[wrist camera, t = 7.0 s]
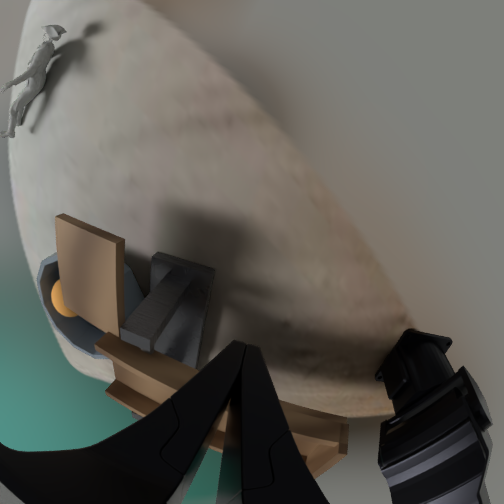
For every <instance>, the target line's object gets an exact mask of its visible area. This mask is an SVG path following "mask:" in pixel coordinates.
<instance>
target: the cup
mask: <svg viewBox="0 0 504 504" xmlns="http://www.w3.org/2000/svg"><path fill="white" fill-rule="evenodd" d="M59 279H60V275H59V267H58V257H57V252H56V253H54V254H52V255H51V256H49V257H47V258H46V259H44V260H43V261H42V262H41V265H40V269H39V272H38V276H37V285H38V290H39V295H40V299H41V303H42V306H43V307H44V309H45V311H46V313H47V315H48V317H49V318H50V320H51V322H52V324H53V325H54V327H55V328H56V329H57V330H58V331H59V333H60V334H61V335H62V336H63V337H64V338H65V339H66V340H67V341H68V342H69V343H70V344H71V345H72V346H73V347H75V348H76V349H78V350H80V351H82V352H84V353H85V354H87V355H89V356H91V357H93V358H95V359H109V358H107V357H105V356H104V355H102V354H101V353H99V352H98V351H96V350H95V345H94V344H95V343H96V342H97V341H98V340H99V339H100V338H101V337H103V336H104V335H105V334H106V333H105V332H104V331H102V330H101V329H99V328H97V327H96V326H94V325H93V324H91V323H90V322H88V321H87V320H85V319H83V318H82V317H80V316H79V315H77V316H75V317H67V316H64V315H62V314H60V313H59V312H58V311H57V310H56V309H55V307H54V305H53V302H52V298H51V293H52V289H53V286H54V284H55V283H56V282H57V281H58V280H59ZM143 300H144V296H143V294H142V292H141V290H140V288H139V285H138V283H137V281H136V279H135V277H134V274H133V272H132V270H131V268H130V267H129V266H128V265H127V264H126V263H125V262H124V306H125V321H126V320H127V319H128V318H129V316H130V315H131V314H132V313H133V312H134V311H135V309H136V308H137V307H138V306H139V305H140V304H141V302H142V301H143Z"/></svg>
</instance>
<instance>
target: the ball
mask: <svg viewBox="0 0 504 504" xmlns="http://www.w3.org/2000/svg"><path fill="white" fill-rule="evenodd" d="M51 298H52V302H53V305H54V307H55V309H56V310H57V311H58V312H59V313H60V314H62V315H64V316H67V317H75V316H77V315H78V314H76V313H75V312H73V311H72V310H70V309H69V308H67V307H66V306H65V305H64V301H63V296H62V289H61V283H60V279H59V280H58V281H57V282H56V283H55V284H54V286H53V289H52V293H51Z"/></svg>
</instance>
